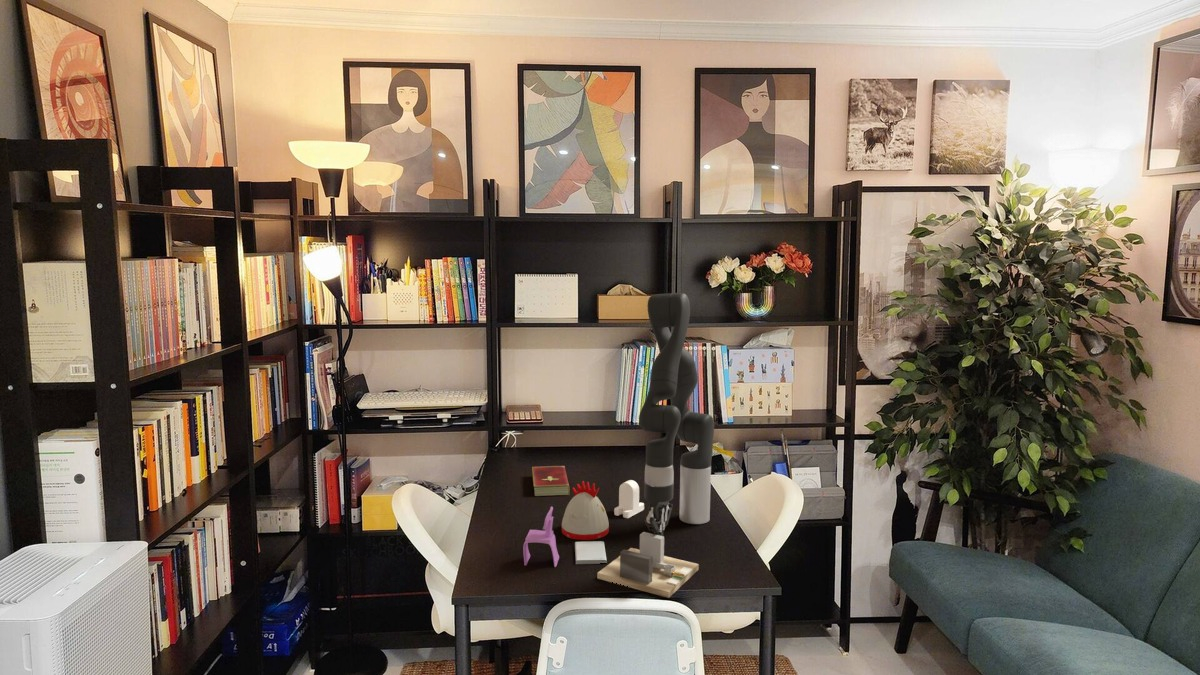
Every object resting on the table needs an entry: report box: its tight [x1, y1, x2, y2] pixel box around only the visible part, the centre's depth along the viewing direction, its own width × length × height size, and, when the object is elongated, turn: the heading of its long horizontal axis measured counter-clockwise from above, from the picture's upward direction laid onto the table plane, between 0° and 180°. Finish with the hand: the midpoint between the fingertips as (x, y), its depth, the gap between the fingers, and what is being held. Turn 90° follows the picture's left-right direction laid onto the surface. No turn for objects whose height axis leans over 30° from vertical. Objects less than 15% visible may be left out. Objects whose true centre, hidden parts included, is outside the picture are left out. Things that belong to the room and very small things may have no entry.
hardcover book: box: [531, 465, 571, 497], centre depth 262 cm, size 12×21×4 cm, turn 7°
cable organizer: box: [613, 479, 645, 519], centre depth 237 cm, size 5×10×10 cm, turn 145°
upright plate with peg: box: [639, 531, 675, 571], centre depth 192 cm, size 7×10×8 cm
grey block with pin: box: [664, 564, 684, 577], centre depth 189 cm, size 2×5×2 cm, turn 59°
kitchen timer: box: [561, 480, 610, 541], centre depth 221 cm, size 14×14×15 cm
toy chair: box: [522, 506, 560, 568], centre depth 200 cm, size 8×9×15 cm
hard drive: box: [574, 540, 608, 565], centre depth 206 cm, size 2×8×12 cm
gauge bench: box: [597, 547, 700, 599], centre depth 194 cm, size 18×20×8 cm
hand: (658, 544), depth 198 cm, fingers closed
